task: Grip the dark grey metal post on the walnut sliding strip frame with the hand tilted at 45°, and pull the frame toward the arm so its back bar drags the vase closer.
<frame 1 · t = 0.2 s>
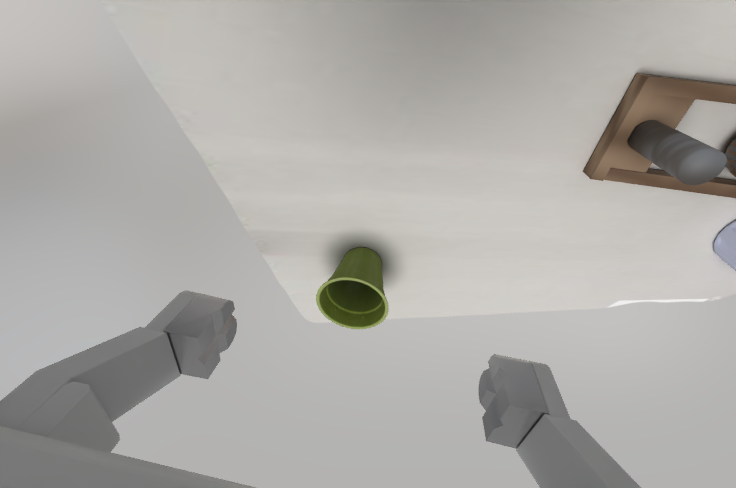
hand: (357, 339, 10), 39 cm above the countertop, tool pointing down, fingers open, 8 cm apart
plant pot: (362, 260, 60), on the countertop
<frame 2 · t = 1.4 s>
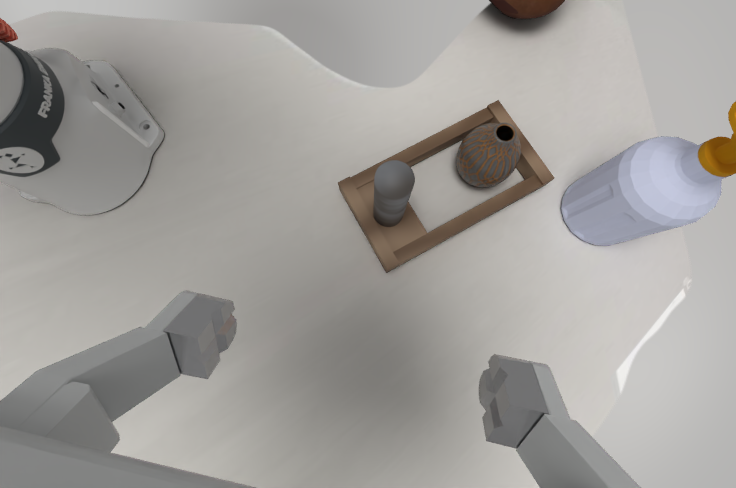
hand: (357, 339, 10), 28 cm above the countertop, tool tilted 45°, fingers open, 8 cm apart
strip frame: (453, 167, 35), point 6 cm above the countertop, slide at 0.0 cm
soap bottle: (594, 212, 40), on the countertop
butternut squash: (508, 4, 47), on the countertop
vase: (476, 170, 41), resting in strip frame
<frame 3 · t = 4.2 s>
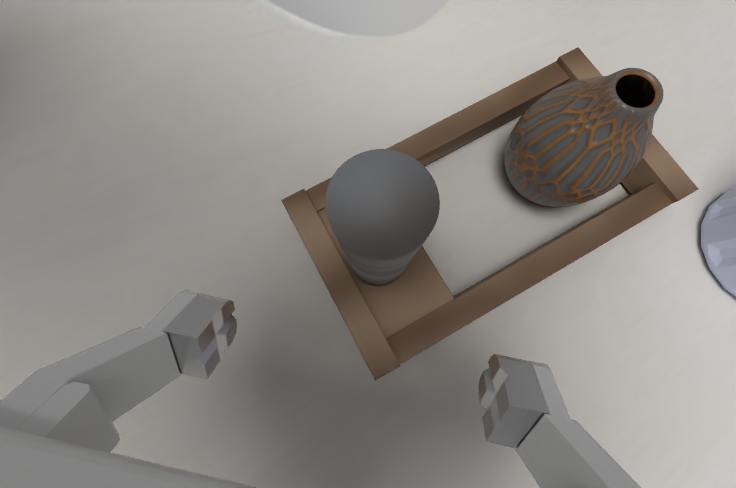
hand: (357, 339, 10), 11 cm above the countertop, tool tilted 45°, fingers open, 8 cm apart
strip frame: (512, 169, 16), point 6 cm above the countertop, slide at 0.0 cm
vase: (537, 174, 23), resting in strip frame
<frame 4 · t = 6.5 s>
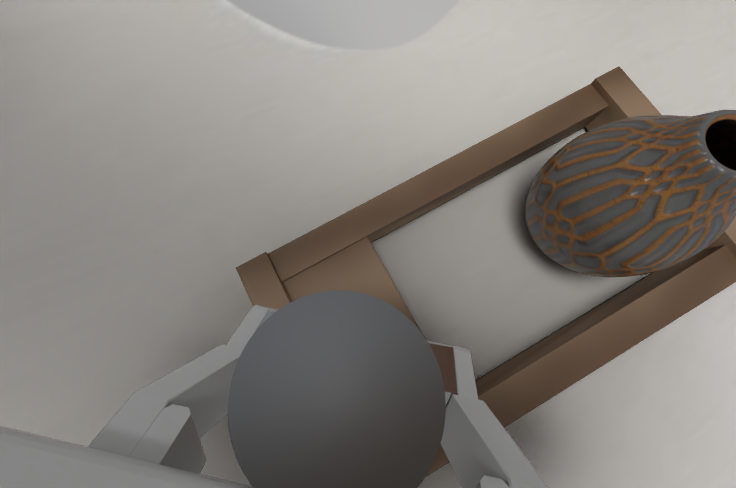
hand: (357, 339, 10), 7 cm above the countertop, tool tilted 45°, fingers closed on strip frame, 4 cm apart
strip frame: (545, 246, 12), point 6 cm above the countertop, slide at 0.0 cm, touching gripper
vase: (565, 225, 18), resting in strip frame
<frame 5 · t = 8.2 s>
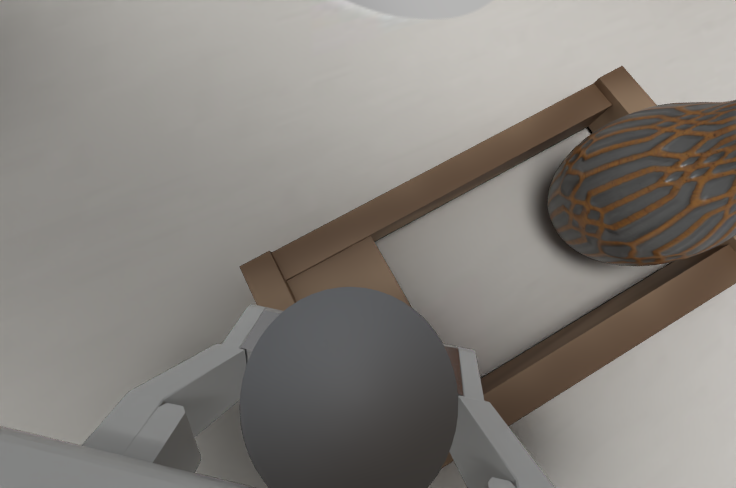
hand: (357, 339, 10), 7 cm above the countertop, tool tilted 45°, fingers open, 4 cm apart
strip frame: (550, 245, 12), point 6 cm above the countertop, slide at 5.0 cm, touching gripper, vase
vase: (585, 216, 18), resting in strip frame
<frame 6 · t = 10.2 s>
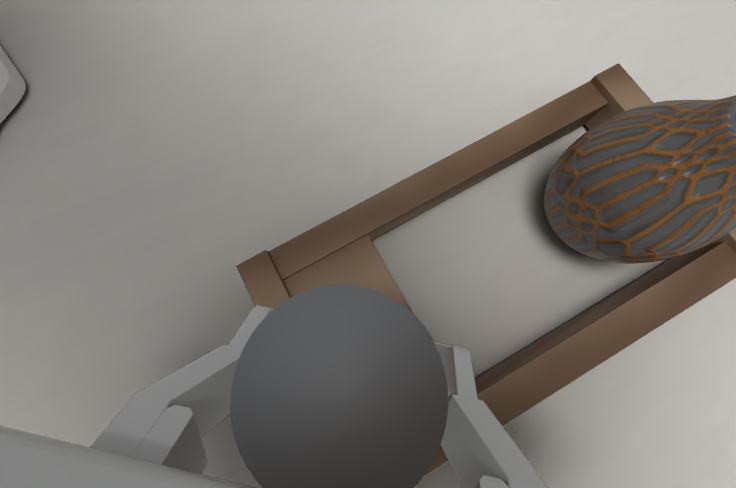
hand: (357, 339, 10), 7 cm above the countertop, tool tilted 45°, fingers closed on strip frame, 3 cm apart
strip frame: (546, 242, 12), point 6 cm above the countertop, slide at 8.9 cm, touching gripper, vase
vase: (582, 214, 18), resting in strip frame
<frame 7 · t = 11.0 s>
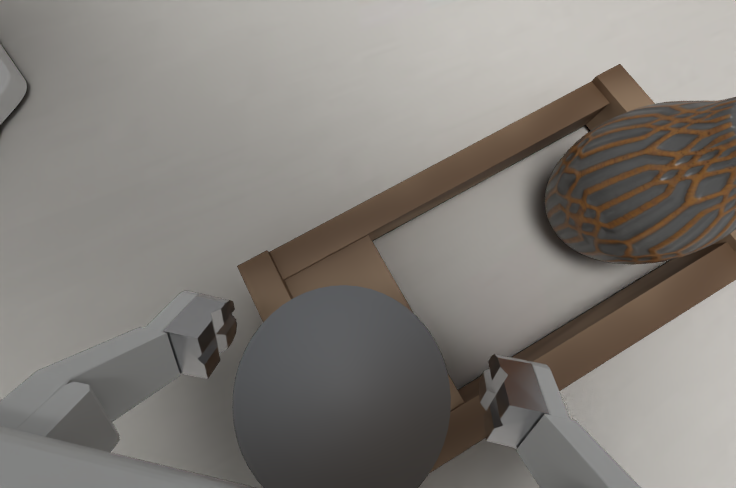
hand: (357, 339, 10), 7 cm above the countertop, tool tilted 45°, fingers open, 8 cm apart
strip frame: (547, 243, 12), point 6 cm above the countertop, slide at 8.9 cm
vase: (583, 214, 18), resting in strip frame
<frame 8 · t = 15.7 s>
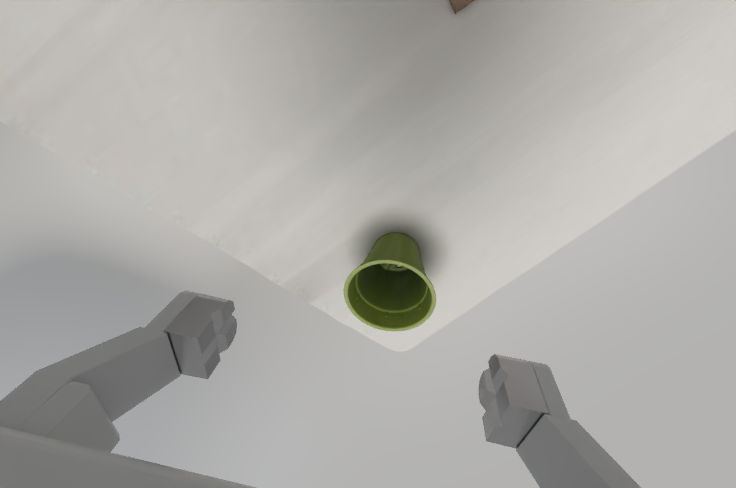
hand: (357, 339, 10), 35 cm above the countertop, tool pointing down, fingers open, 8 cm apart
plant pot: (395, 250, 50), on the countertop
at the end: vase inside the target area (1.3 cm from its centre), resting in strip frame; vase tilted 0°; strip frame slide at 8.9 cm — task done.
